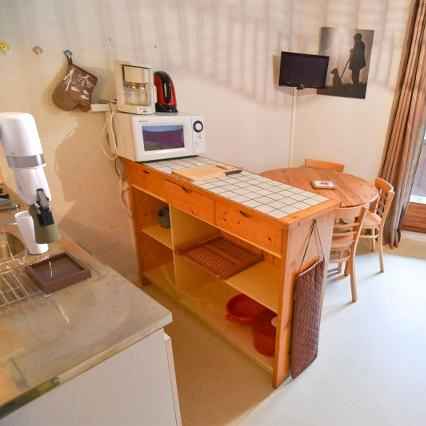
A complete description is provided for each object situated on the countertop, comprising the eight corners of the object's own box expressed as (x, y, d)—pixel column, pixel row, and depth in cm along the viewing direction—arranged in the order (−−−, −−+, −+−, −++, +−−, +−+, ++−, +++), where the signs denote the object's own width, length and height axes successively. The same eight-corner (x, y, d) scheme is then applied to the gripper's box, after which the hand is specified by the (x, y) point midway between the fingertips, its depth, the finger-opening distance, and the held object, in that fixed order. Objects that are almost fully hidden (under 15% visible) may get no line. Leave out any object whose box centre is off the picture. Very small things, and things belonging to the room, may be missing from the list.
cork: (37, 246, 90) (26, 210, 86) (33, 238, 94) (23, 204, 89) (63, 240, 94) (54, 205, 90) (59, 233, 98) (50, 199, 94)
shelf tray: (92, 277, 104) (90, 269, 102) (46, 294, 94) (44, 286, 93) (69, 257, 113) (67, 250, 111) (25, 271, 103) (23, 264, 102)
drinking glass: (50, 245, 119) (39, 208, 113) (52, 252, 115) (41, 214, 109) (26, 250, 115) (13, 212, 109) (27, 258, 110) (14, 219, 104)
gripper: (-2, 156, 86) (17, 217, 93) (18, 169, 77) (37, 235, 84) (33, 152, 92) (48, 210, 99) (55, 165, 83) (70, 227, 90)
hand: (43, 221), depth 92 cm, fingers closed on cork, 5 cm apart
